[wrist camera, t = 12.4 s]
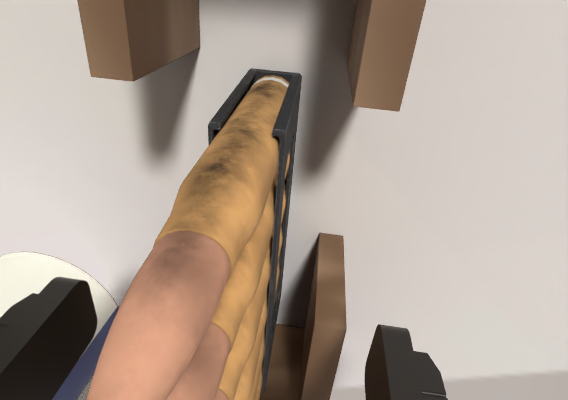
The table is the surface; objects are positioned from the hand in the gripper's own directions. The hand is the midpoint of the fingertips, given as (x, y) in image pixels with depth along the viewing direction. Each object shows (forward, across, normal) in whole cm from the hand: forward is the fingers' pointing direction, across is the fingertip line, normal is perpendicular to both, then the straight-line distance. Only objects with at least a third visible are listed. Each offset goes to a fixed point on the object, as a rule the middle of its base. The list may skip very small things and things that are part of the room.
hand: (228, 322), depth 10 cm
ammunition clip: (+6, 0, 0) cm, 7 cm away
